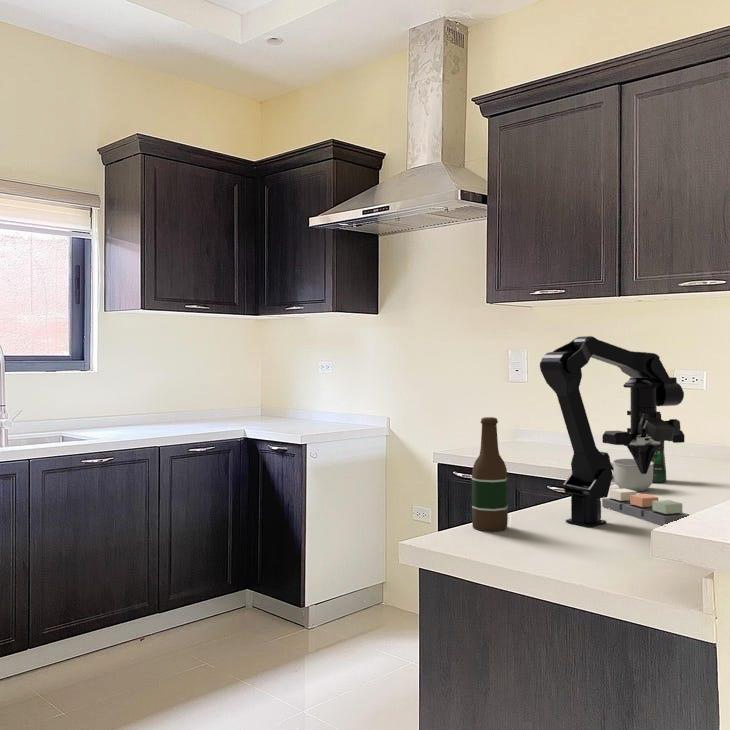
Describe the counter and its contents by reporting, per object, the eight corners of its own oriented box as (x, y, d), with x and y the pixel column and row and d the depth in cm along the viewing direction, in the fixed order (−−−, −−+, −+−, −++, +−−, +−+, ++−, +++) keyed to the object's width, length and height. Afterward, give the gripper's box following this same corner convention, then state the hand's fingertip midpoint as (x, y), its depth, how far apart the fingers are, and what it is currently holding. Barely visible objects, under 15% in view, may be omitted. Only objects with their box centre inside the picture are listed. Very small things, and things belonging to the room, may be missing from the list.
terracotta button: (658, 505, 172) (658, 497, 172) (642, 507, 171) (642, 498, 171) (646, 502, 176) (646, 493, 176) (630, 503, 175) (630, 495, 175)
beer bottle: (503, 523, 166) (503, 416, 165) (511, 531, 158) (511, 418, 158) (469, 524, 165) (468, 416, 165) (475, 532, 157) (474, 419, 157)
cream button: (636, 499, 180) (636, 491, 180) (620, 500, 178) (620, 492, 178) (625, 496, 184) (625, 488, 184) (609, 497, 183) (609, 489, 183)
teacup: (656, 488, 209) (656, 459, 209) (650, 494, 200) (649, 464, 200) (606, 484, 216) (605, 456, 216) (597, 490, 207) (597, 461, 207)
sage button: (682, 512, 164) (682, 503, 164) (665, 513, 163) (665, 504, 163) (668, 508, 169) (668, 499, 169) (652, 510, 167) (652, 501, 167)
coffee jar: (631, 482, 220) (631, 419, 220) (632, 478, 227) (632, 417, 227) (666, 483, 216) (666, 420, 216) (666, 479, 223) (666, 418, 223)
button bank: (691, 524, 163) (691, 515, 163) (664, 526, 161) (664, 517, 161) (626, 504, 186) (626, 496, 186) (602, 506, 184) (602, 498, 184)
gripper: (630, 409, 163) (631, 481, 163) (701, 408, 168) (701, 477, 168) (600, 407, 174) (601, 473, 174) (668, 405, 179) (668, 470, 179)
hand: (643, 473), depth 173 cm, fingers closed
